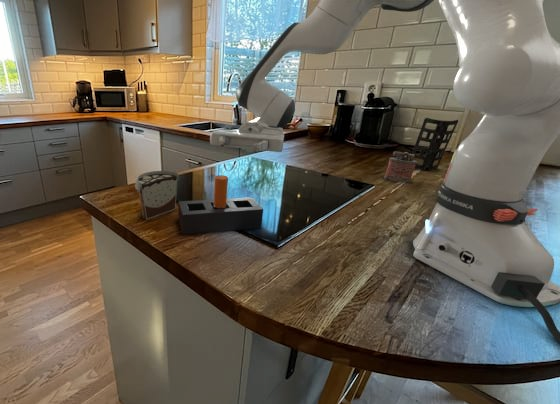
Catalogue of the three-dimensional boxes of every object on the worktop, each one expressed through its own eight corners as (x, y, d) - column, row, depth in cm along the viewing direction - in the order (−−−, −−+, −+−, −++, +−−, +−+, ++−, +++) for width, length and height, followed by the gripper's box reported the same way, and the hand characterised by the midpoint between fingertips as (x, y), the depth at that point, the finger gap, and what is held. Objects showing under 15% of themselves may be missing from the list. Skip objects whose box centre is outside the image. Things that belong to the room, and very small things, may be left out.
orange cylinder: (226, 226, 71) (229, 179, 66) (214, 227, 71) (216, 179, 66) (223, 220, 74) (225, 174, 69) (211, 221, 73) (213, 175, 69)
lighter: (410, 180, 106) (419, 153, 102) (410, 183, 103) (419, 155, 99) (384, 176, 110) (391, 149, 106) (383, 179, 107) (391, 151, 103)
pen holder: (261, 228, 71) (263, 209, 69) (182, 234, 67) (182, 214, 65) (250, 214, 77) (252, 197, 75) (178, 219, 74) (178, 201, 72)
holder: (432, 165, 124) (451, 116, 114) (443, 172, 118) (464, 121, 108) (404, 164, 125) (421, 116, 115) (413, 171, 119) (432, 121, 109)
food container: (165, 201, 84) (164, 167, 80) (179, 207, 80) (179, 172, 76) (127, 213, 76) (124, 176, 72) (141, 221, 72) (139, 183, 68)
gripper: (219, 122, 90) (201, 129, 78) (288, 128, 82) (280, 136, 71) (218, 143, 92) (201, 153, 81) (285, 150, 85) (277, 162, 73)
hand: (238, 145), depth 75 cm, fingers open, 8 cm apart
